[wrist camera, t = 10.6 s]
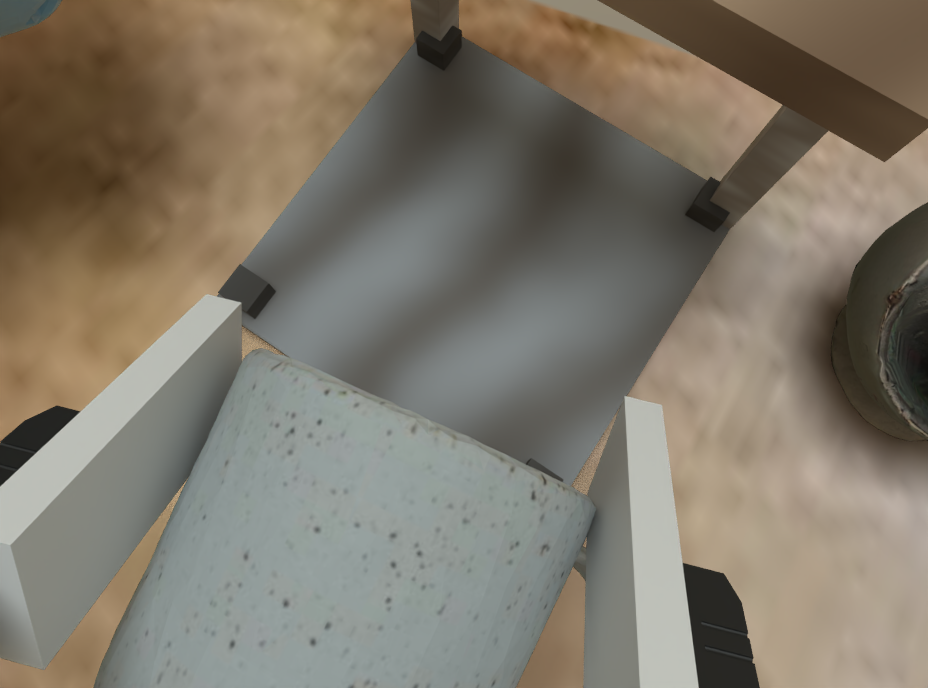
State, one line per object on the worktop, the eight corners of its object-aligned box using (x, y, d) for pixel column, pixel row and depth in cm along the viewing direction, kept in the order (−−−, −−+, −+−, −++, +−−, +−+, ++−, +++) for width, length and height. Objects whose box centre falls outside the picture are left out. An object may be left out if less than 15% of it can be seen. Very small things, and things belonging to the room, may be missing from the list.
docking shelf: (220, 311, 31) (-121, 45, 13) (433, 35, 34) (402, -491, 16) (540, 528, 29) (674, 579, 11) (735, 214, 32) (1092, -156, 14)
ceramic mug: (154, 683, 17) (-90, 842, 9) (301, 376, 18) (200, 296, 11) (560, 872, 16) (663, 1212, 8) (675, 536, 18) (845, 569, 10)
